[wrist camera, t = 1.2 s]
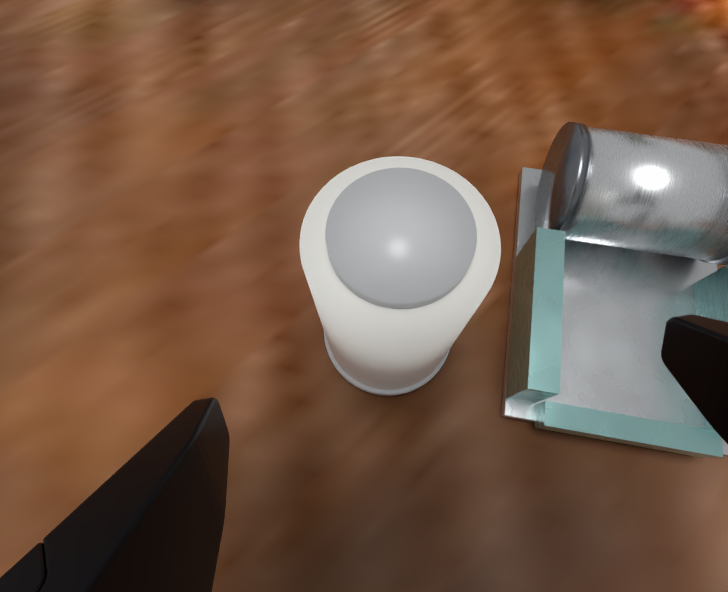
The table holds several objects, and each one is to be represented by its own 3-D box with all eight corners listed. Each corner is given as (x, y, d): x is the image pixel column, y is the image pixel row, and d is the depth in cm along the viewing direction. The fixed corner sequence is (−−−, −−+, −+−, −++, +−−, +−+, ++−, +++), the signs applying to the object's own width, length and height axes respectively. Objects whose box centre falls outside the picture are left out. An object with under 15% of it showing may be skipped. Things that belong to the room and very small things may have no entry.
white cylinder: (469, 368, 21) (553, 285, 12) (353, 417, 21) (339, 375, 11) (416, 263, 23) (450, 115, 13) (308, 305, 23) (261, 182, 13)
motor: (724, 463, 20) (855, 463, 15) (500, 423, 21) (546, 408, 15) (702, 198, 24) (796, 122, 19) (519, 172, 25) (560, 92, 20)
